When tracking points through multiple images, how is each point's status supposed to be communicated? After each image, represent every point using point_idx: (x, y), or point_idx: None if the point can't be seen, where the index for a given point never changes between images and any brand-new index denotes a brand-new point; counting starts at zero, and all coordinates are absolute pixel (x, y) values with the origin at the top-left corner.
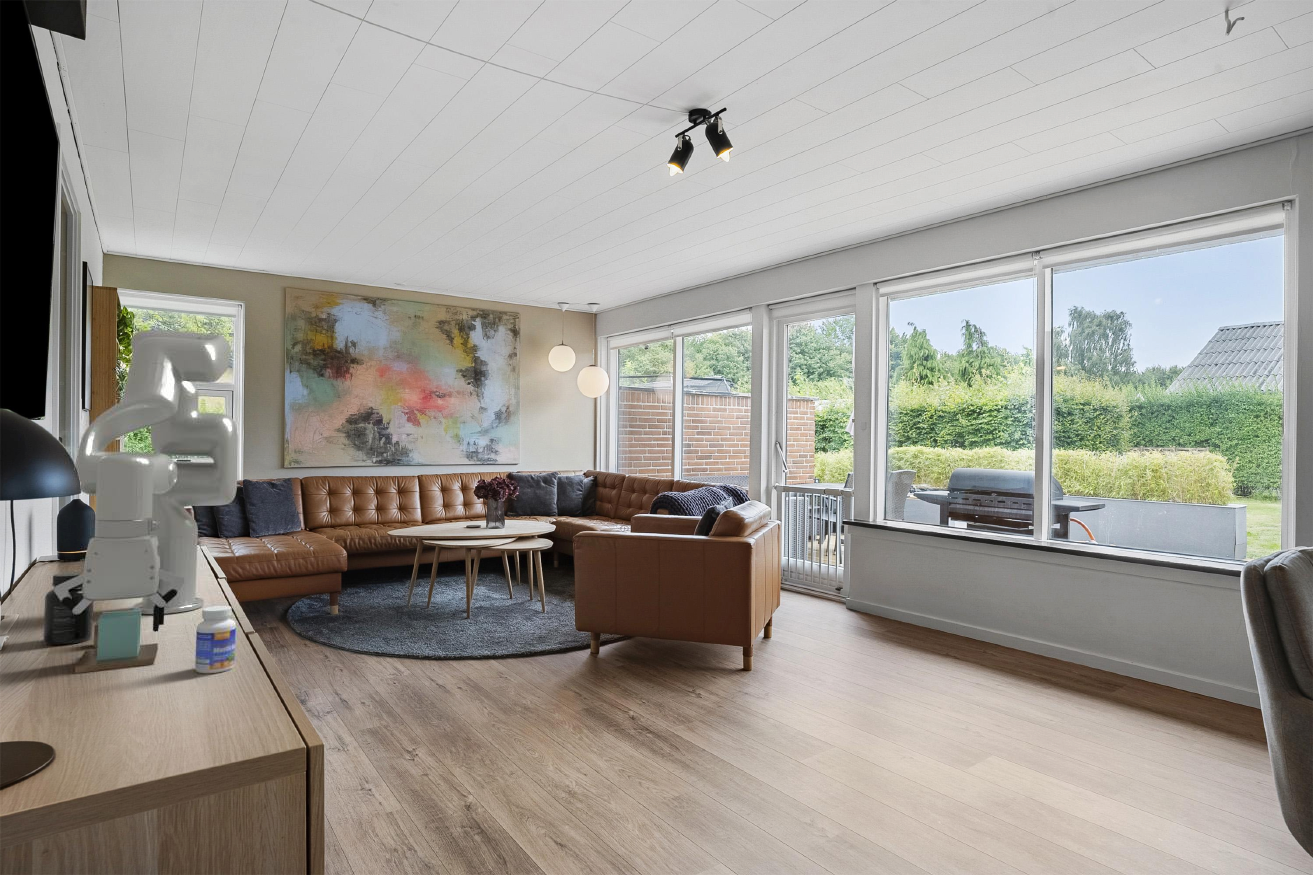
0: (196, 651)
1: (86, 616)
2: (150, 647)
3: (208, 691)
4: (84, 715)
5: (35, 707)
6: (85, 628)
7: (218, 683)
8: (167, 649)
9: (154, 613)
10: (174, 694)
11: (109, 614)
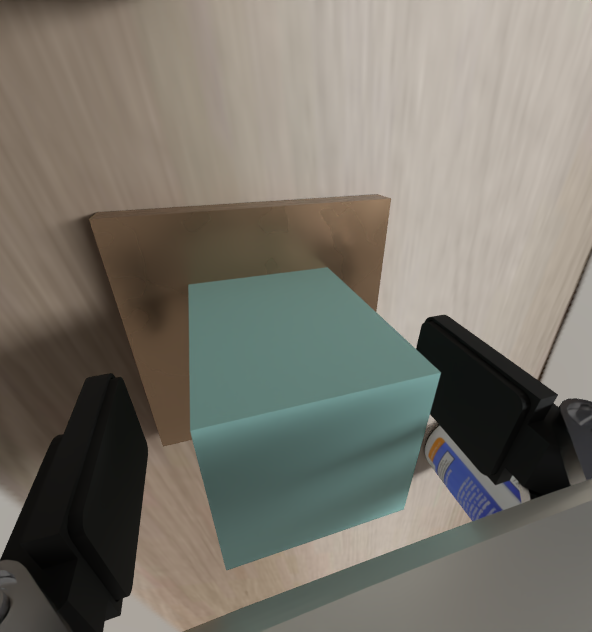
0: (454, 494)
1: (124, 555)
2: (361, 266)
3: (416, 524)
4: (268, 596)
5: (178, 588)
6: (141, 489)
7: (435, 498)
8: (404, 216)
9: (470, 454)
10: (376, 535)
11: (259, 485)
